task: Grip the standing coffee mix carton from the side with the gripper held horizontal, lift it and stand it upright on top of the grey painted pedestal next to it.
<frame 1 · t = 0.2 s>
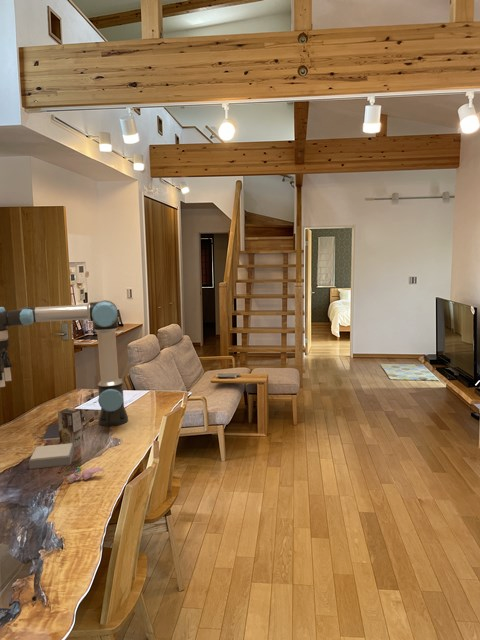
hand: (5, 383, 244), 27 cm above the table, tool pointing down, fingers open, 13 cm apart
notebook: (59, 433, 255), on the table
pedestal: (52, 459, 219), on the table
coffee box: (71, 444, 237), on the table
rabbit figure: (84, 480, 197), on the table
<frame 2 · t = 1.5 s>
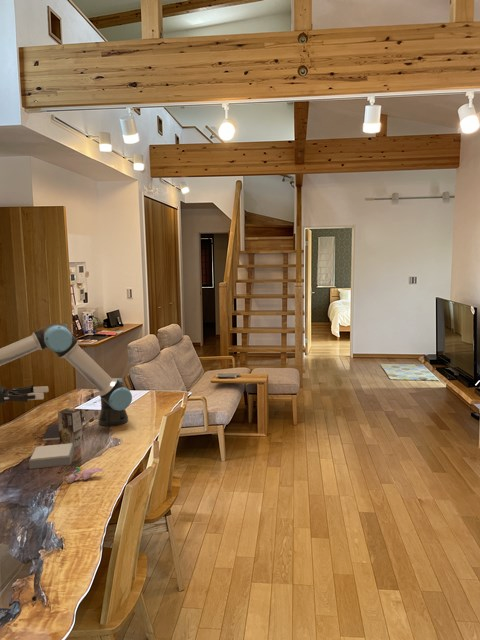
hand: (46, 392, 233), 25 cm above the table, tool horizontal, fingers open, 13 cm apart
nothing on the table moved.
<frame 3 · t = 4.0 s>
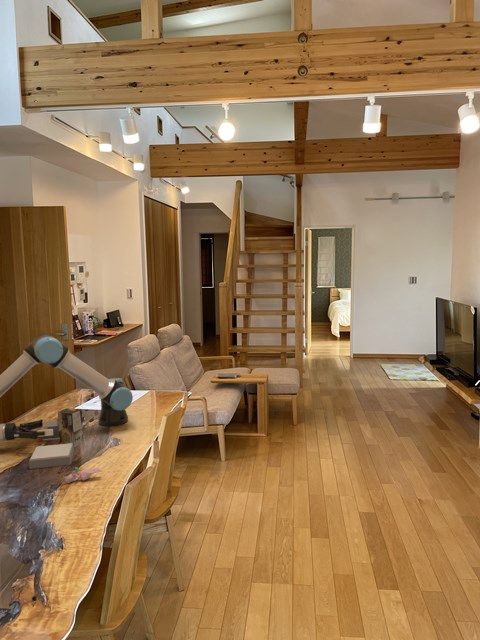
hand: (55, 427, 235), 9 cm above the table, tool horizontal, fingers open, 13 cm apart
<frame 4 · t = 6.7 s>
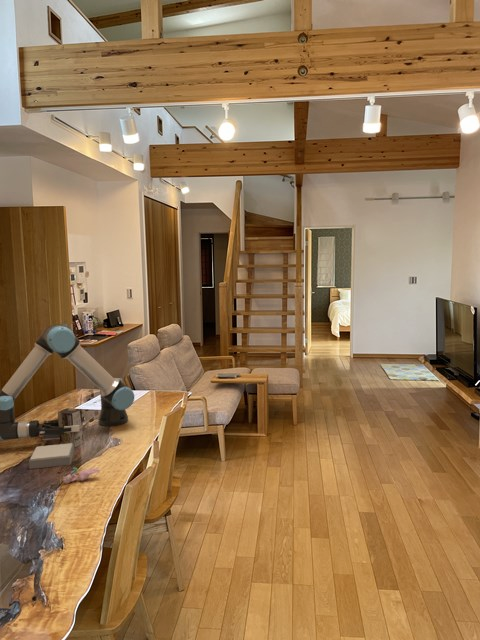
hand: (80, 424, 237), 9 cm above the table, tool horizontal, fingers closed on coffee box, 10 cm apart
coffee box: (72, 444, 237), on the table, touching gripper
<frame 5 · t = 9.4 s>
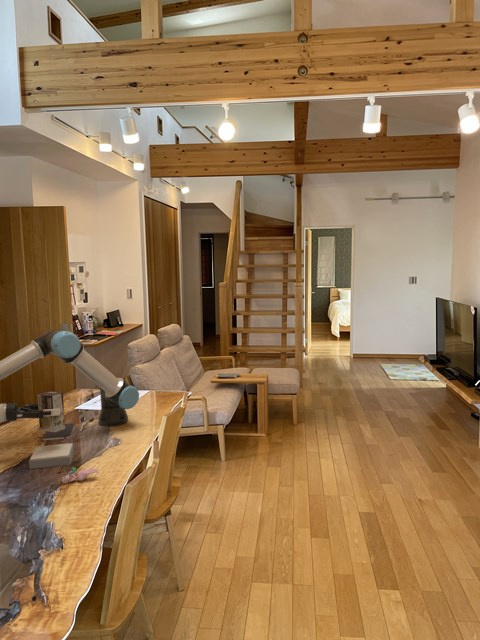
hand: (61, 408, 222), 21 cm above the table, tool horizontal, fingers closed on coffee box, 10 cm apart
coffee box: (52, 429, 222), point 12 cm above the table, touching gripper
when the fingers open (14 cm above the table, at t = 12.0 s): coffee box drops 1 cm, resting on pedestal.
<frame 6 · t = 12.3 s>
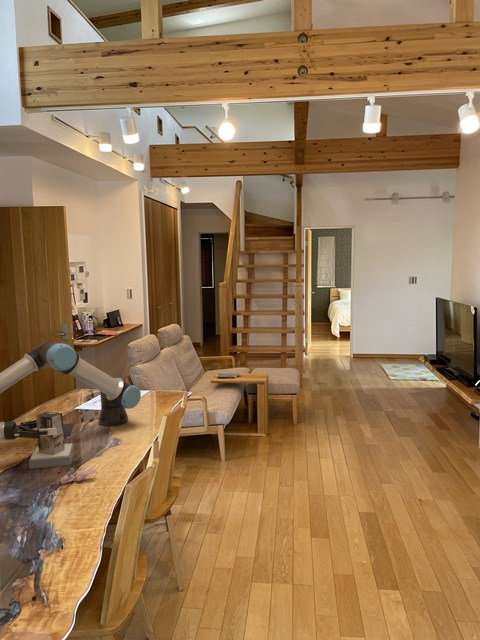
hand: (58, 426, 218), 14 cm above the table, tool horizontal, fingers open, 13 cm apart
coffee box: (51, 451, 218), point 4 cm above the table, touching pedestal
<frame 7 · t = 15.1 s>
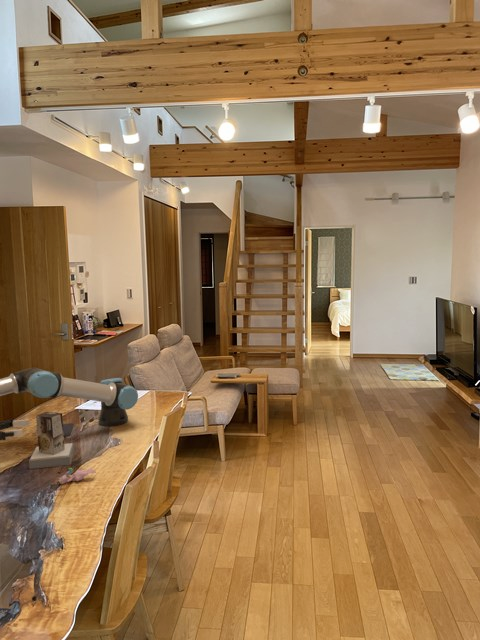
hand: (26, 427, 216), 15 cm above the table, tool horizontal, fingers open, 13 cm apart
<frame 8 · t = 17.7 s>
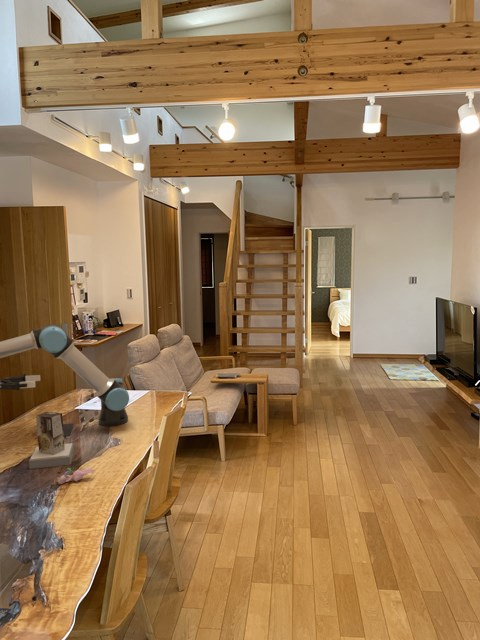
hand: (37, 380, 236), 30 cm above the table, tool horizontal, fingers open, 13 cm apart
at the end: coffee box inside the target area on the pedestal (0.1 cm from its centre), point 3.8 cm above the pedestal's base; coffee box tilted 0°; the gripper is holding nothing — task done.
